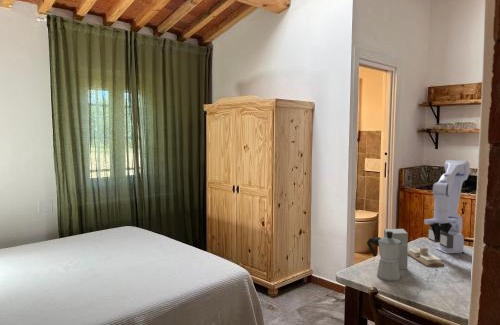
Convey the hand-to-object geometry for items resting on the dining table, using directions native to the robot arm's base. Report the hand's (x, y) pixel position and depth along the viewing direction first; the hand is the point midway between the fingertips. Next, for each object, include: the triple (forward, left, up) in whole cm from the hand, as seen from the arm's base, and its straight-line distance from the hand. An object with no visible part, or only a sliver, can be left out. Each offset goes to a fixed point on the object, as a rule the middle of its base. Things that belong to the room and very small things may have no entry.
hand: (440, 239), depth 166 cm
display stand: (+8, 0, -9) cm, 11 cm away
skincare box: (+25, +8, -9) cm, 28 cm away
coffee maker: (+34, +16, -9) cm, 38 cm away
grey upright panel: (0, 0, -2) cm, 2 cm away
